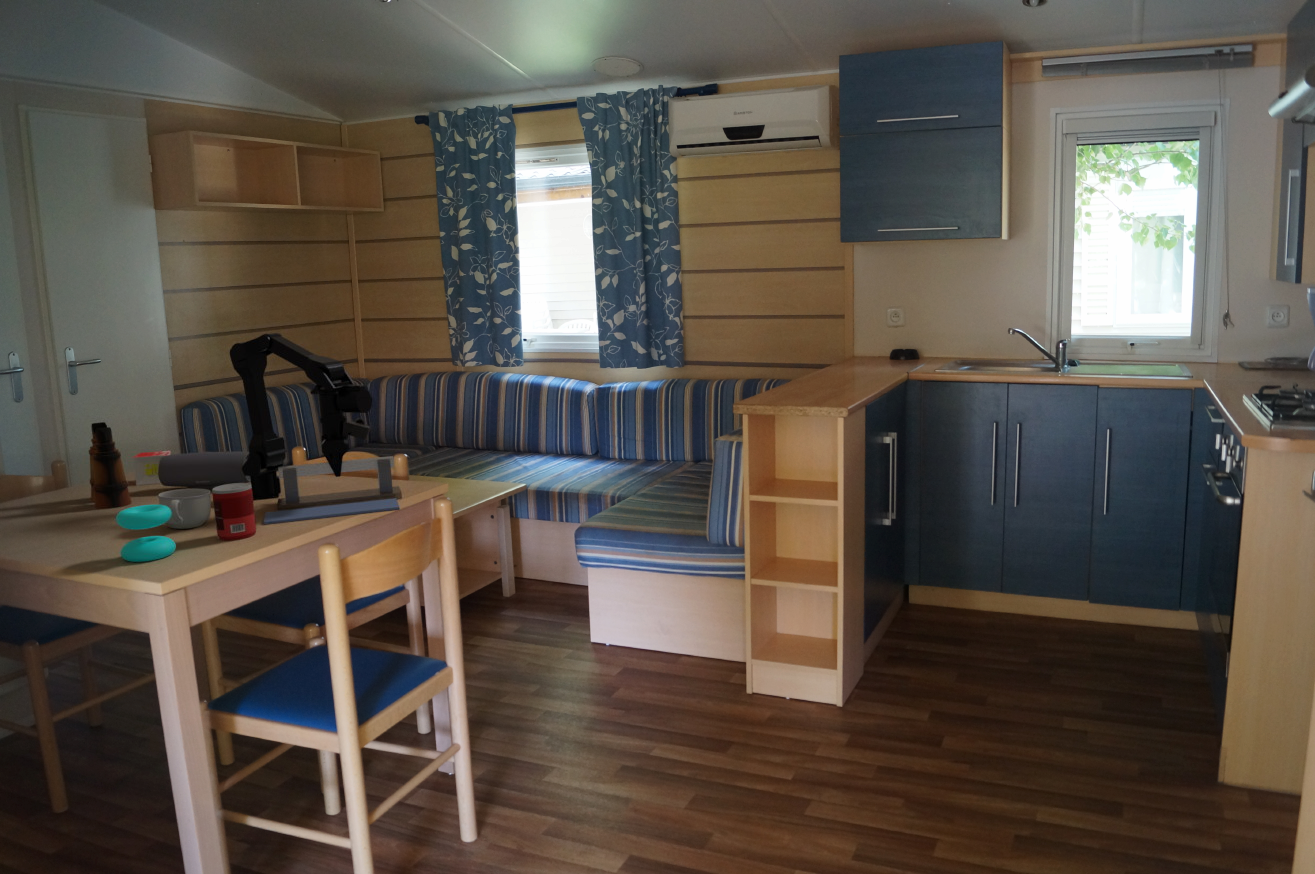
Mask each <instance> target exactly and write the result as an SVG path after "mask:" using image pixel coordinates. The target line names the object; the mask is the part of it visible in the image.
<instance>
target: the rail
mask: <svg viewBox="0 0 1315 874" xmlns="http://www.w3.org/2000/svg"><path fill="white" fill-rule="evenodd" d="M385 460H390V465H391V468H395V458H394V456H393V455H391V456H382V457H381V456H380V457H370V458H360V459H359V458H358V459H348V460H342V468H341V473H348V472H359V471H368V470H369V471H370V470H377V469H378V463H377V461H385ZM291 469H296V475H297V478H298V477H307V476H317V475H328V474H329V475H330V474H334V472H333V470H332V469H331V467H330V465H329V463H328V461H327V462H319V463H307V464H296V465H294V464H293V465H288V466H287V465H286V466H284V465H283V467H278V471H277V473H278V476H279V478H280V479H283V470H291Z"/></svg>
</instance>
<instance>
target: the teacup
mask: <svg viewBox="0 0 1315 874" xmlns="http://www.w3.org/2000/svg"><path fill="white" fill-rule="evenodd" d="M211 494H212V490H207V489H189V488H180V489H179V488H178V489H172V490H167V491H163V492H160V493H158V495H157V498H158V505H165V506H167V507H169V508H170V510H171V513H172V514H171V517H170V519H169V520H168V521H167V522H165V523H164V524H166V525H167V526H168V527H170V528H171V529H178V530H181V529H192V528H198V527H200V526H202V525H204V523H205V522H206V521H208V520H209V518H210V516H211V511H212V508H211V507H212V503H211V502H212V500H211V499H212V497H211Z"/></svg>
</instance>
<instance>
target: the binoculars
mask: <svg viewBox="0 0 1315 874" xmlns="http://www.w3.org/2000/svg"><path fill="white" fill-rule="evenodd" d="M91 434H92V435H91V436H92V438H90V439H91V441H90V442H91V443H92V446H90V447H89V449H88V454H89V469H90V478H89V484H90V502H92V503H94V508H95V509H97V510H110V509H118V508H122V507H126V506H129V505H132V499H131V495H130V492H129V488H128V486H129V483H128V480H127V479H126V475H125V470H124V466H123V462H122V458H121V457H122V454H121V451H119V449H117V447H116V442H115V441H114V439H113V432H112V428H111V427H109V426H108V425H107V423H106V422H105V421H103V422H101V421H100V422H95V423H91Z"/></svg>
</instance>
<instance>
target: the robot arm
mask: <svg viewBox="0 0 1315 874" xmlns="http://www.w3.org/2000/svg"><path fill="white" fill-rule="evenodd" d="M273 354H274V355H276V356H278V357H279V358H281V359H283V360H284V361H286V362H288V363H290V364H292V365H294V366H295V367H298V368H299V369H301V370H302V371H303V372H304V374H305V376H306V378H308V379H309V380H310V381H311V382H313V384H315V386H314V387H313V388H312V390H311V391H310V392H309V393H310V394H311V395H317V399H318V400H317V401H318V407H319V408H318V409H319V421H320V422H319V423H320V431H321V434H320V437H321V438H320V439H321V444H320V445H321V453H322V454H323V456H324V458H325V459H326V461H327V462H328V463H329V465H330V467H331V469H332V470H333V472H334V473H333V474H334V475H335V478H339V477H341V476H342V472H341V468H342V461H343V459H344V455H345V454H347V453H348V452H349V451H350V444H349V440H348V438H349V436H351V437H354V438H359V439H361V440H363V441H367V440H368V438H369V437H368V436H369V432H370V431H371V426H369V425H368V424H365V421H364V419H363V418H359V417H357V418H356V419H355V420H354V421H353V420H352V421H351V420H347V416H346V415H345V414H346V413H347V414H367V413H369V412H370V410H371V409H372V406H373V396H372V395H371V394H370V392H369V391H368V390H367V389H366V385H365V384H357V385H356V384H355V382H354V381H353V379H352V378H351V376H350V375H349V373H348V372H347V370H346V368H344V363H342V362H341V361H340V360H338V359H334V358H331V357H328V356H323V355H317V354H315V353H313V352H311V351H309V350H308V349H305V348H304V347H302V346H300V345H298V344H296V343H294V342H293V341H291V340H289V339H287V337H283V335H282V334H281V333H278V332H271V333H263V334H261V335H260V336H258V337H255V338H253V339H250V340H248V341H243V342H236V343H234V344H233V345H232V346H231V348H230V349H229V358H230V362H231V363H232V366H233V369H234V371H235V372H236V373H237V374H238V375H239V376H240V378H241V380H242V384H243V390H244V395H245V400H246V405H247V410H248V416H249V422H250V426H251V427H250V428H251V432H252V437H251V438H250V441H249V442H250V443H249V445H248V452H249V458H248V459H247V461H246V462H245V464H244V465H243V466H242V471H243V473H244V475H245V476H250V480H251V482H250V484H251V487H252V494H253V500H260V499H269V498H277V497H280V494H281V493H282V486H281V485H282V484H281V478H279V475H278V467H284V462H285V460H286V457H287V455H286V453H288V451H287V449H286V445H285V439H284V437H283V436H280V437H279V435H277V434H276V432H275V431H274V427H273V422H272V416H271V411H270V405H269V399H268V394H267V390H266V384H265V379H264V375H265V371H266V369H267V366H268V356H271V355H273Z"/></svg>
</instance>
